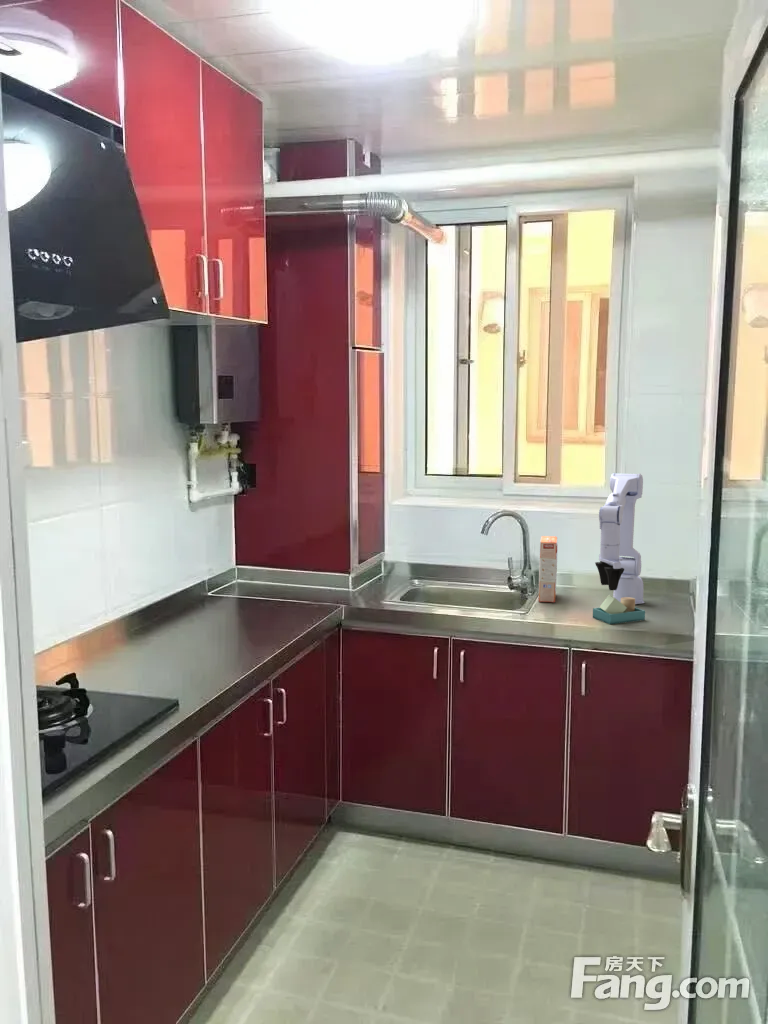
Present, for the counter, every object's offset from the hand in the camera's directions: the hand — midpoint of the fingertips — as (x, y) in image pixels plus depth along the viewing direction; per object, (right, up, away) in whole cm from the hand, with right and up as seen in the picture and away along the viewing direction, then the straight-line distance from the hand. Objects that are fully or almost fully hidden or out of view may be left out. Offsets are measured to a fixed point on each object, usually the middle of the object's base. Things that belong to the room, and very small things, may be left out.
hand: (608, 587), depth 272 cm
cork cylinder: (+7, -9, +4) cm, 12 cm away
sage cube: (0, -8, +1) cm, 8 cm away
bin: (+4, -10, +3) cm, 11 cm away
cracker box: (-13, -7, +32) cm, 35 cm away
